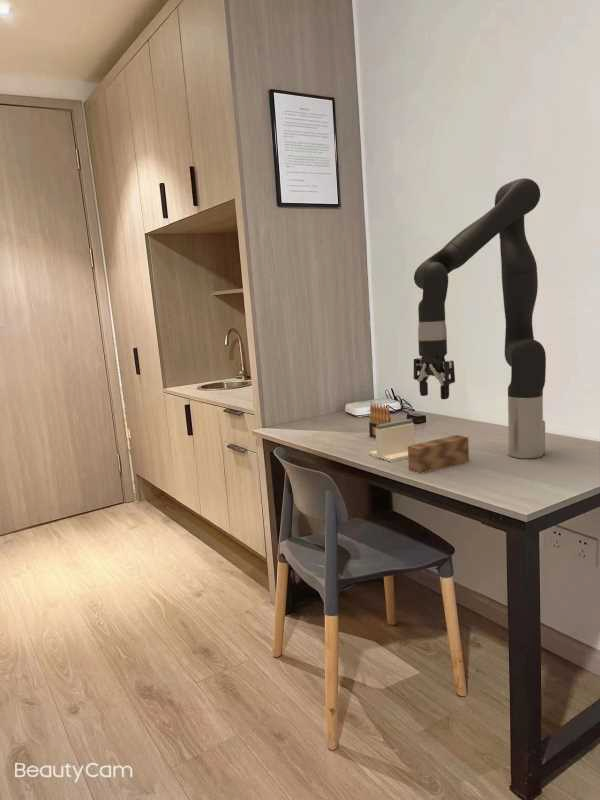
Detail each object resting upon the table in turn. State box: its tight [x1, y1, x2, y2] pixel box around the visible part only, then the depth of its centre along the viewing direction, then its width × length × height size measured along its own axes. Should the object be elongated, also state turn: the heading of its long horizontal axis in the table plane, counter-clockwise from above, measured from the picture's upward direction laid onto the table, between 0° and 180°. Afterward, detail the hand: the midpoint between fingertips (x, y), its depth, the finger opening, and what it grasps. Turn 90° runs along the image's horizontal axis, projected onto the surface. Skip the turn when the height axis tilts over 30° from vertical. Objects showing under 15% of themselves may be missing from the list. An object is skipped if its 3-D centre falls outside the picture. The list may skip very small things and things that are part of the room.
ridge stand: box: [368, 418, 416, 463], centre depth 184 cm, size 12×11×10 cm
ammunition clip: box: [368, 402, 392, 439], centre depth 206 cm, size 11×2×12 cm, turn 30°
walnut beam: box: [407, 434, 470, 474], centre depth 171 cm, size 18×4×7 cm, turn 120°
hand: (434, 397), depth 169 cm, fingers open, 8 cm apart
